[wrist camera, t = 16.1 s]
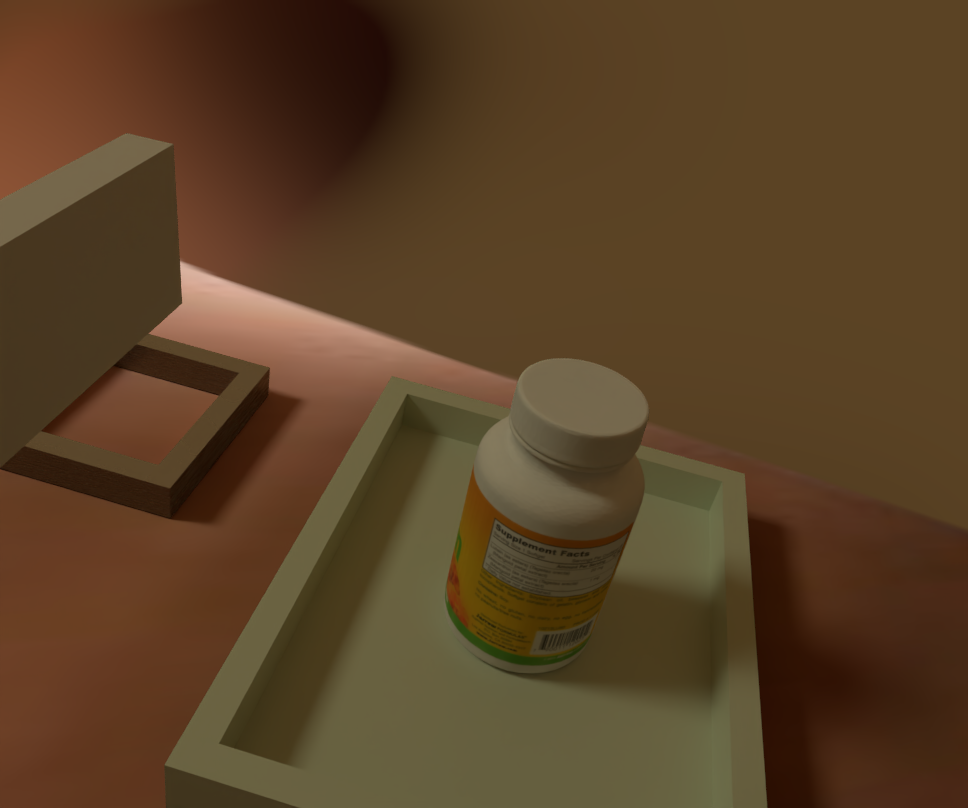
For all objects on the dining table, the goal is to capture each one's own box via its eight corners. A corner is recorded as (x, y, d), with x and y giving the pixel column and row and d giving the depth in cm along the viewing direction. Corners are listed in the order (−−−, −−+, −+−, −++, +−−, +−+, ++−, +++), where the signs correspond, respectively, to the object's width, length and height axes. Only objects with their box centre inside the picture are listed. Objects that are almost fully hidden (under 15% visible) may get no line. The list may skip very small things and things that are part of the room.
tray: (725, 516, 39) (744, 473, 38) (741, 1002, 23) (777, 958, 21) (385, 420, 40) (392, 376, 39) (166, 817, 24) (164, 765, 22)
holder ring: (268, 394, 40) (269, 367, 40) (170, 518, 33) (169, 488, 32) (86, 343, 41) (84, 315, 40) (-50, 453, 34) (-56, 422, 33)
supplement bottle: (473, 541, 34) (526, 325, 28) (605, 595, 33) (687, 382, 27) (416, 638, 29) (466, 406, 24) (566, 704, 28) (654, 476, 23)
